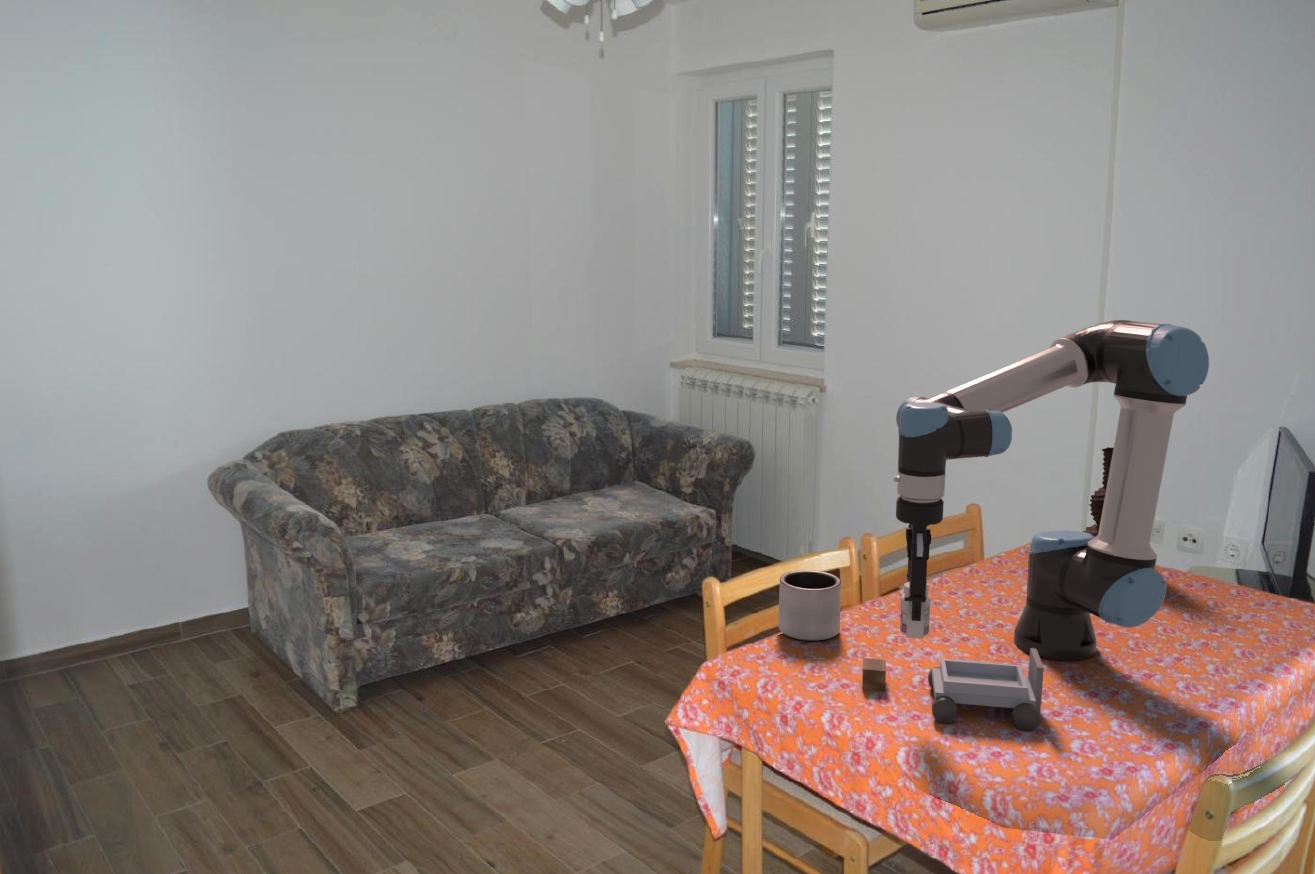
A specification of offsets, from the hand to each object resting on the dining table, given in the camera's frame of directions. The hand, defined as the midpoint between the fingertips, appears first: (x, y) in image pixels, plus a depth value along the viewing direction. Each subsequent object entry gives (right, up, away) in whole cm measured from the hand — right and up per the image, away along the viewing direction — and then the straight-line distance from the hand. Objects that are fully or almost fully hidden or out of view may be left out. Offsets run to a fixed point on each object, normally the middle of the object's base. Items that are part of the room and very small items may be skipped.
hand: (914, 630), depth 172 cm
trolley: (+12, -14, +3) cm, 19 cm away
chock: (-4, -12, +13) cm, 18 cm away
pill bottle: (0, -1, 0) cm, 1 cm away
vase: (+66, 0, +73) cm, 98 cm away
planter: (-12, -7, +37) cm, 40 cm away
